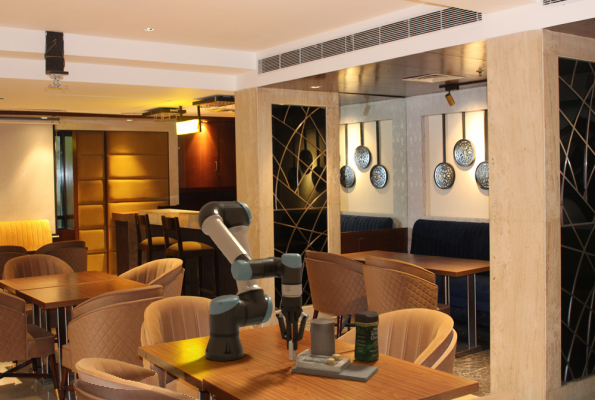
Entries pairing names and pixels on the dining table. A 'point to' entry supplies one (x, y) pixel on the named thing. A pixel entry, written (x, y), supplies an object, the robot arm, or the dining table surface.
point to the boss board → (349, 373)
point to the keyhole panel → (320, 362)
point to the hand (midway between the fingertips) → (292, 358)
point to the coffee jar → (366, 336)
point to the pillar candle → (322, 337)
